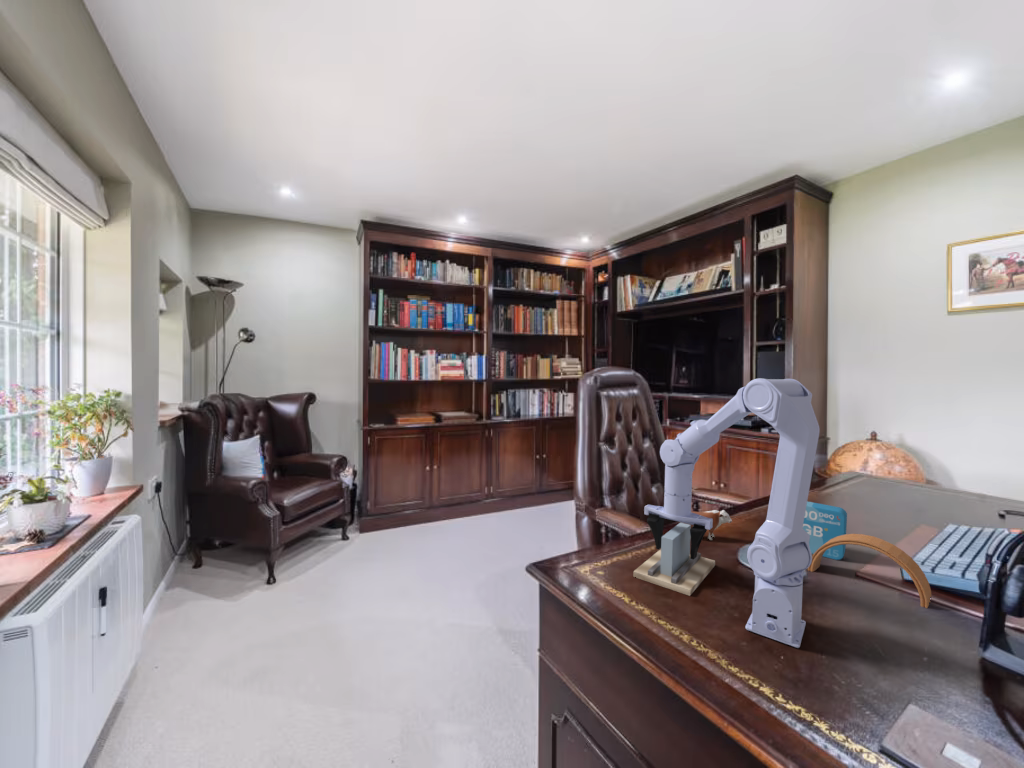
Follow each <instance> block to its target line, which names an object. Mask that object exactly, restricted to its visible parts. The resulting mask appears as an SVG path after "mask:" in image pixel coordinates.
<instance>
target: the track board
mask: <svg viewBox="0 0 1024 768" xmlns="http://www.w3.org/2000/svg"><path fill="white" fill-rule="evenodd" d="M715 566H716V560H714V559H710V558H707V557H703V556H702V553H701V552H697V557H696V558H695V559H691V558H690V559H689V560H688V561H687V562H686V563H685V564H684V565H683V566H682V567H681V568H680V569H679V570H678V571H677V572H676V573H675V574H674V575H673V576H672V577H670V576H667V575H664V574H661V573H660V569H661V548H660V549H658V550H657V552H655V553H654V554H653V555H652V556H650V557H649V558H648V559H647V560H646V561H644V562H643V563H641V565H639V566H638V567H637V568H636V569H634V570H633V575H632V576H633V578H635V577H636V579H639V580H642V581H645V582H647V583H651V584H654V585H656V586H660V587H663V588H665V589H669V590H671V591H674V592H678V593H680V594H683V595H686V596H689V597H691V595H693V593H695V590H697V588H698V587H699V586H700V585H701V584H702V582H703V581H704V579H705V578H706V577H707V576H708V575H709V574H710V573H711V571H712V570H713V568H715Z"/></svg>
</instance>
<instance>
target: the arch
mask: <svg viewBox="0 0 1024 768" xmlns="http://www.w3.org/2000/svg"><path fill="white" fill-rule="evenodd" d="M844 544H846V545H855V546H856V545H857V546H862V547H866V548H868V549H872V550H874V551H877V552H879V553H881V554H882V555H885V556H887V557H888V558H890V559H891V560H892V561H894V562H895V563H896V564H897V565H899V566H900V567H901V568H902V569H903V570H904V571H905V572H906V574H907V575H909V577H910V579H911V580H912V581H913V583H914V585H915V587H916V590H917V592H918V595H919V600H920V607H921V608H925V609H928V607H929V606H930V604H929V602H930V603H931V601H930V597H931V598H932V589H931V586H930V582H929V581H928V580H929V579H928V578H927V576H926V574H925V572H924V571H923V569H922V568H921V566H920V565H919V564H918V563H917V562H916V561H915V560H914V558H912V557H911V556H910V555H909V554H908V553H906V552H905V551H904V550H903V549H901V548H900V547H898V546H896V545H895V544H893V543H891V542H889V541H886V540H884V539H882V538H879V537H876V536H874V535H873V536H872V535H867V534H862V533H846V534H845V535H841V536H837V537H835V538H833V539H830V540H829V541H828V542H826V543H825V544H824V545H822V546H821V547H820V548H819V549H817V551H816V552H815V553H814V554H812V563H811V565H810V566H809V567H808V568H807V571H808V572H812V573H814V572H815V571H817V569H819V568H820V566H821V562H822V558H823V554H824V552H825V551H826V550H827V549H829V548H831V547H833V546H837V545H844Z"/></svg>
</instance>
